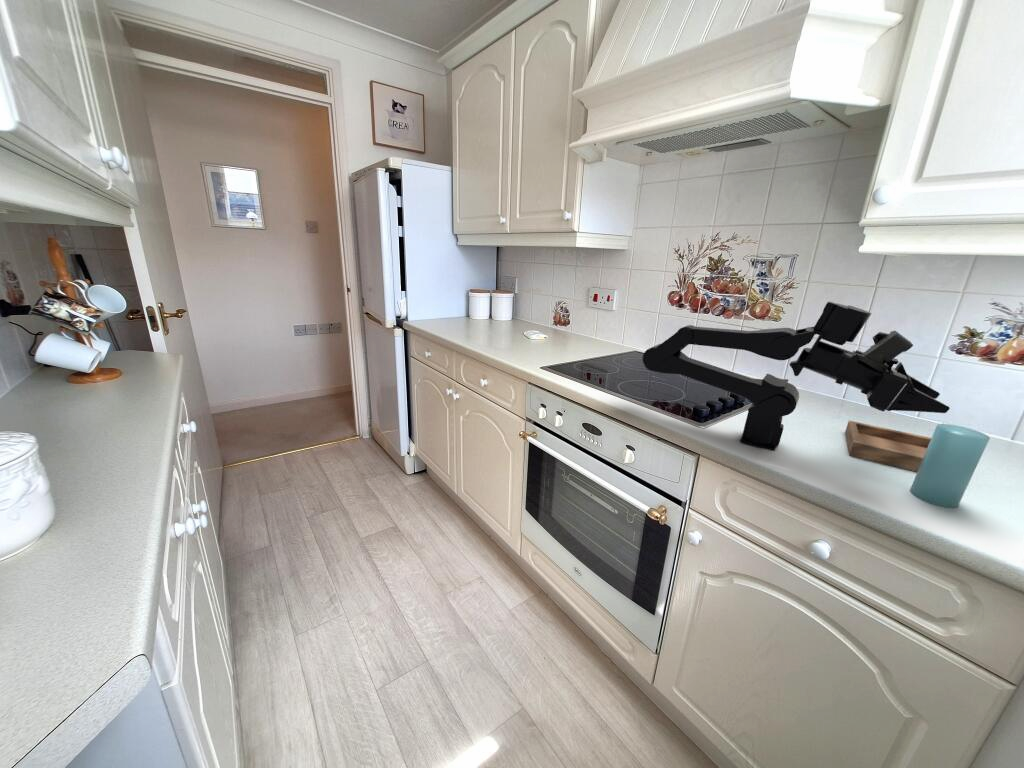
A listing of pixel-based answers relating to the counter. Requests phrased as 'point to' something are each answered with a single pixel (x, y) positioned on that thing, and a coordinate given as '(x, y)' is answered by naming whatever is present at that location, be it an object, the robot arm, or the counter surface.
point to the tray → (886, 445)
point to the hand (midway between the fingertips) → (942, 402)
